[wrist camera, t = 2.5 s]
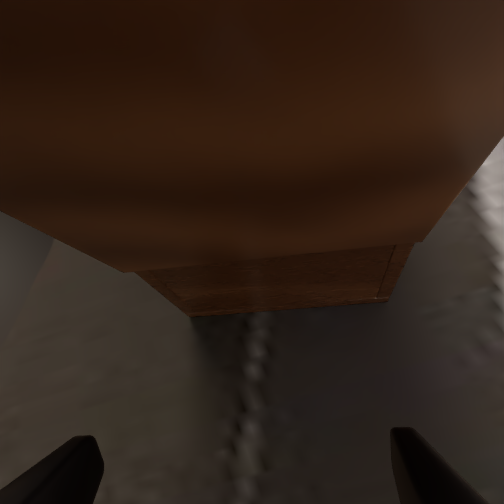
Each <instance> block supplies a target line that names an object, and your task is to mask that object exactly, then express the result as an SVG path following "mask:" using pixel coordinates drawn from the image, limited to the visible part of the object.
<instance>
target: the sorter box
mask: <svg viewBox="0 0 504 504" xmlns="http://www.w3.org/2000/svg"><path fill="white" fill-rule="evenodd" d="M413 245H414V243H405V244H395V245H386V246H376V247H366V248H357V249H347V250H337V251H328V252H318V253H309V254H299V255H289V256H280V257H270V258H260V259H251V260H241V261H231V262H222V263H212V264H202V265H193V266H183V267H174V268H164V269H154V270H145V271H135V273H136V274H137V275H139V276H140V277H141V278H142V279H143V280H145V281H146V282H147V283H148V284H150V285H151V286H152V287H153V288H154V289H156V290H157V291H158V292H159V293H161V294H162V295H163V296H164V297H165V298H167V299H168V300H169V301H170V302H172V303H173V304H174V305H175V306H176V307H178V308H179V309H180V310H181V311H183V312H184V313H185V314H186V315H187V316H189V317H199V316H212V315H224V314H237V313H249V312H262V311H275V310H287V309H300V308H313V307H325V306H338V305H351V304H363V303H376V302H387V301H388V299H389V297H390V295H391V293H392V291H393V289H394V287H395V284H396V282H397V280H398V278H399V276H400V274H401V271H402V269H403V267H404V265H405V263H406V261H407V258H408V256H409V254H410V252H411V250H412V248H413Z"/></svg>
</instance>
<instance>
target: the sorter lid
mask: <svg viewBox="0 0 504 504" xmlns="http://www.w3.org/2000/svg"><path fill="white" fill-rule="evenodd" d="M503 136H504V0H0V211H1V212H3V213H5V214H7V215H9V216H11V217H14V218H15V219H18V220H19V221H21V222H23V223H26V224H27V225H29V226H32V227H33V228H36V229H38V230H40V231H41V232H44V233H46V234H47V235H50V236H51V237H53V238H55V239H57V240H59V241H61V242H63V243H65V244H67V245H69V246H71V247H73V248H75V249H77V250H79V251H81V252H83V253H85V254H87V255H89V256H91V257H93V258H95V259H97V260H99V261H101V262H103V263H105V264H107V265H109V266H111V267H113V268H115V269H117V270H119V271H121V272H123V273H125V272H135V271H145V270H154V269H164V268H174V267H183V266H193V265H202V264H212V263H222V262H231V261H241V260H251V259H260V258H270V257H280V256H289V255H299V254H309V253H318V252H328V251H337V250H347V249H357V248H366V247H376V246H386V245H395V244H405V243H415V242H422V241H423V240H424V239H425V237H426V236H427V235H428V233H429V232H430V231H431V230H432V228H433V227H434V226H435V224H436V223H437V222H438V221H439V219H440V218H441V217H442V215H443V214H444V213H445V211H446V210H447V209H448V208H449V206H450V205H451V204H452V202H453V201H454V200H455V199H456V197H457V196H458V195H459V193H460V192H461V191H462V190H463V188H464V187H465V186H466V184H467V183H468V182H469V180H470V179H471V178H472V177H473V175H474V174H475V173H476V171H477V170H478V169H479V168H480V166H481V165H482V164H483V162H484V161H485V160H486V158H487V157H488V156H489V155H490V153H491V152H492V151H493V149H494V148H495V147H496V146H497V144H498V143H499V142H500V140H501V139H502V138H503Z"/></svg>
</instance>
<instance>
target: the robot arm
mask: <svg viewBox="0 0 504 504" xmlns="http://www.w3.org/2000/svg"><path fill="white" fill-rule="evenodd" d="M390 438H391V460H392V468H393V473H394V477H395V482H396V486H397V490H398V494H399V499H400V503H401V504H489V503H488V502H487V501H486V500H485V499H484V498H483V497H482V496H481V495H480V494H479V493H478V492H477V491H476V490H475V489H474V488H473V487H472V486H471V485H470V484H469V483H468V482H467V481H466V480H465V479H464V478H463V477H462V476H461V475H460V474H459V473H458V472H457V471H456V470H455V469H454V468H453V467H452V466H451V465H450V464H449V463H448V462H447V461H446V460H445V459H444V458H443V457H442V456H441V455H440V454H439V453H438V452H437V451H436V450H435V449H434V448H433V447H432V446H431V445H430V444H429V443H428V442H427V441H426V440H425V439H424V438H423V437H422V436H421V435H420V434H419V433H418V432H417V431H416V430H415V429H413V428H411V427H394V428H392V429H391V431H390ZM103 473H104V461H103V458H102V455H101V453H100V450H99V447H98V444H97V441H96V439H95V438H94V437H93V436H91V435H87V436H75V437H73V438H71V439H70V440H69V441H67V442H66V443H64V444H63V445H62V446H60V447H59V448H58V449H56V450H55V451H53V452H52V453H51V454H49V455H48V456H47V457H45V458H44V459H42V460H41V461H40V462H38V463H37V464H36V465H34V466H33V467H31V468H30V469H29V470H27V471H26V472H24V473H23V474H22V475H20V476H19V477H18V478H16V479H15V480H13V481H12V482H11V483H9V484H8V485H7V486H5V487H4V488H2V489H1V490H0V504H93V502H94V499H95V496H96V493H97V491H98V488H99V485H100V482H101V479H102V476H103Z"/></svg>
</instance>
